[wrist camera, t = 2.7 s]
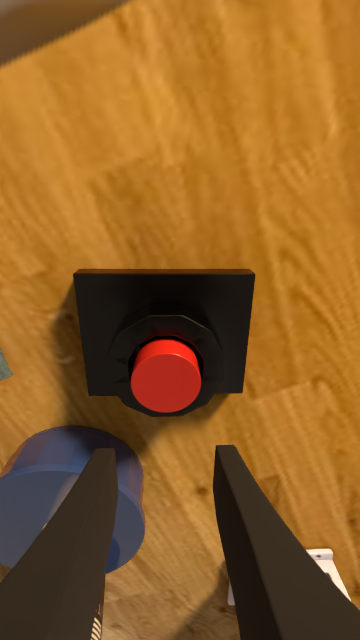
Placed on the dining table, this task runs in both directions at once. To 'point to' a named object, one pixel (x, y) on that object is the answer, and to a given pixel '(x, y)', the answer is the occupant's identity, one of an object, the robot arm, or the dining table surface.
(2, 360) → the terrain model
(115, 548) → the lid
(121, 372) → the block
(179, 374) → the button
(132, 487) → the pot
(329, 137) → the dining table surface
